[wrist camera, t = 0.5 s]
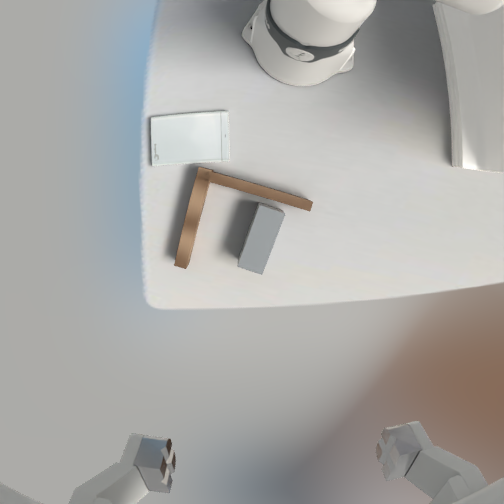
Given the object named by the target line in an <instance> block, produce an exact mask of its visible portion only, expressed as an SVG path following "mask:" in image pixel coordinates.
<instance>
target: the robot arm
mask: <svg viewBox="0 0 504 504" xmlns="http://www.w3.org/2000/svg"><path fill="white" fill-rule="evenodd" d="M434 1H437V2H440V3H442V4H445V5H448V6H450V7H453V8H456V9H459V10H461V11H464V12H466V13H469V14H473V15H481V14H486V13H489V12H492V11H494V10H497V9H498V8H500V7H501V6H503V5H504V0H434ZM376 2H377V0H263V2H262V3H260V4H259V6H258V8H257V10H256V11H255V13H254V14H253V16H252V17H251V19H250V20H249V22H248V23H247V24H246V26H245V27H244V29H243V31H242V37H243V39H244V40H245V41H246V42H247V43H248V44H249V45H250V46H251V47H252V49H253V51H254V53H255V56H256V59H257V61H258V62H259V64H260V66H261V67H262V68H263V69H264V70H265V71H266V72H267V73H268V74H269V75H270V76H272V77H273V78H275V79H277V80H278V81H281V82H283V83H286V84H289V85H294V86H311V85H316V84H319V83H321V82H323V81H325V80H327V79H328V78H330V77H331V76H333V75H334V74H337V73H343V72H348V71H350V70H351V69H352V67H353V62H354V51H355V48H354V39H355V37H356V35H357V33H358V31H359V27H360V26H361V25H362V24H363V22H364V21H365V20H366V19H367V18H368V17H369V15H370V14H371V13H372V12H373V10H374V8H375V5H376ZM251 27H252V30H251V29H250V28H251ZM381 435H382V438H381V439H380V440H379V441H378V443H377V446H376V455H377V459H378V461H379V462H380V463H382V464H383V467H382V472H383V474H384V477H385V479H386V481H388V480H393V479H397V478H401V477H405V478H406V479H407V480H408V481H410V482H411V483H412V484H414V485H415V486H416V487H418V488H419V489H420V490H422V491H423V492H424V493H426V494H427V495H428V496H430V497H431V498H432V499H433V500H432V501H431V502H430V503H429V504H504V477H503V478H501V479H499V480H497V481H496V482H494V483H492V484H490V485H488V484H487V482H486V480H485V479H484V477H483V475H482V474H481V472H480V470H479V469H478V467H477V466H476V465H474V464H472V463H470V462H468V461H466V460H464V459H461V458H460V457H457V456H456V455H453V454H452V453H450V452H448V451H445V450H444V449H442V448H440V447H438V446H435V447H434V446H433V444H432V442H431V441H430V439H429V438H428V435H427V434H426V432H425V431H424V429H423V427H422V425H421V424H420V422H419V421H414V422H410V423H407V424H406V423H405V424H401V425H397V426H392V427H388V428H384V429H383V431H382V433H381ZM171 447H172V442H171V439H169V438H161V437H154V436H148V435H142V434H135V433H132V434H131V435H130V437H129V439H128V442H127V445H126V447H125V450H124V452H123V455H122V458H121V460H120V463H115V464H113V465H112V466H110V467H109V468H107V469H106V470H104V471H103V472H101V473H100V474H98V475H96V476H95V477H93V478H92V479H90V480H89V481H87V482H85V483H84V484H82V485H81V486H79V487H77V488H76V489H75V490H74V492H73V495H72V497H71V499H70V502H69V504H136V503H137V502H138V501H139V500H141V499H142V498H143V497H144V496H145V495H146V494H147V493H148V492H149V491H156V492H164V493H170V490H171V486H172V478H171V474H172V473H173V472H174V470H175V465H176V457H175V452H174V450H173V449H171ZM148 490H149V491H148ZM0 504H43V503H40V502H38V501H36V500H34V499H32V498H30V497H27V496H25V495H23V494H21V493H19V492H17V491H15V490H13V489H11V488H9V487H8V486H6V485H4V484H2V483H1V482H0Z"/></svg>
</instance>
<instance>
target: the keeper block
mask: <svg viewBox="0 0 504 504" xmlns="http://www.w3.org/2000/svg"><path fill="white" fill-rule="evenodd" d="M284 216H285V213H284V212H283V210H280V209H277V208H274V207H272V206H269V205H266V204H263V203H260V202H259V203H258V206H257V208H256V211H255V214H254V217H253V220H252V222H251V225H250V228H249V231H248V233H247V236H246V239H245V242H244V245H243V247H242V250H241V253H240V256H239V258H238V267H240V268H243V269H246V270H249V271H252V272H255V273H258V274H261V275H262V274H263V271H264V268H265V266H266V263H267V261H268V258H269V256H270V253H271V250H272V248H273V245H274V242H275V240H276V237H277V235H278V232H279V229H280V227H281V224H282V221H283V219H284Z"/></svg>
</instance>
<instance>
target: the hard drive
mask: <svg viewBox="0 0 504 504" xmlns="http://www.w3.org/2000/svg"><path fill="white" fill-rule="evenodd" d="M151 152H152V166H153V167H155V166H167V165H180V164H195V163H212V162H230V145H229V111H213V112H198V113H186V114H175V115H166V116H157V117H151Z"/></svg>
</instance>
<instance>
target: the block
mask: <svg viewBox="0 0 504 504" xmlns="http://www.w3.org/2000/svg"><path fill="white" fill-rule="evenodd" d="M432 6H433V10H434V14H435V18H436V23H437V27H438V32H439V36H440V41H441V47H442V52H443V58H444V64H445V71H446V79H447V87H448V96H449V106H450V120H451V140H452V167H457V168H465V169H472V170H478V171H487V172H496V173H504V5H503V6H501V7H500V8H498V9H497V10H494V11H492V12H489V13H486V14H481V15H473V14H469V13H466V12H464V11H461V10H459V9H456V8H453V7H450V6H448V5H445V4H442V3H440V2H436V4H433V5H432Z"/></svg>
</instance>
